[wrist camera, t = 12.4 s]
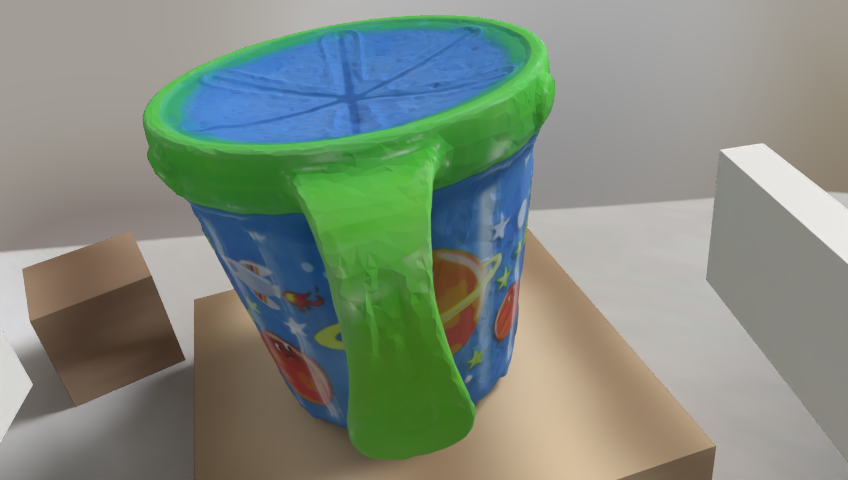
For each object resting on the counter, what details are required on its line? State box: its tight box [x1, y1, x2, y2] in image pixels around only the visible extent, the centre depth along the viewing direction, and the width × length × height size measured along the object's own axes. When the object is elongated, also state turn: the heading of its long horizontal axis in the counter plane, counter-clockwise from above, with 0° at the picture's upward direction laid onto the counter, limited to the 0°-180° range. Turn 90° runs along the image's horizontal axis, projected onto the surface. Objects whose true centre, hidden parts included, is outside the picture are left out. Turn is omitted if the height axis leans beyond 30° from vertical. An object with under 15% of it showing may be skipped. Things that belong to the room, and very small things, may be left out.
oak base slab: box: [194, 228, 716, 480], centre depth 24 cm, size 14×14×3 cm
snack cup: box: [143, 15, 555, 460], centre depth 21 cm, size 16×10×10 cm
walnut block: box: [22, 231, 185, 407], centre depth 30 cm, size 4×4×4 cm
